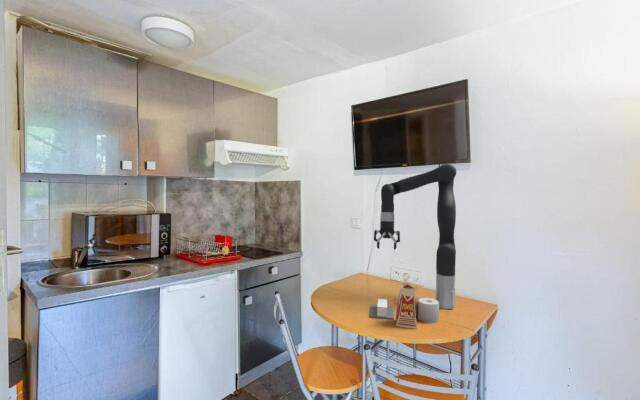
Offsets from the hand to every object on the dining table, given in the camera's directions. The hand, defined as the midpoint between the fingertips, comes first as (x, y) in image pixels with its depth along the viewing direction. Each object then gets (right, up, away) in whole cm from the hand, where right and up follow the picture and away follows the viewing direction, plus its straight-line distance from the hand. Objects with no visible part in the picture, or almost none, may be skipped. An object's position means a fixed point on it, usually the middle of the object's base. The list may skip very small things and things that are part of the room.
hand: (386, 249), depth 179 cm
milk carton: (+2, -29, -32) cm, 43 cm away
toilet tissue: (+13, -30, -25) cm, 41 cm away
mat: (-6, -29, -19) cm, 35 cm away
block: (-7, -26, -26) cm, 37 cm away
